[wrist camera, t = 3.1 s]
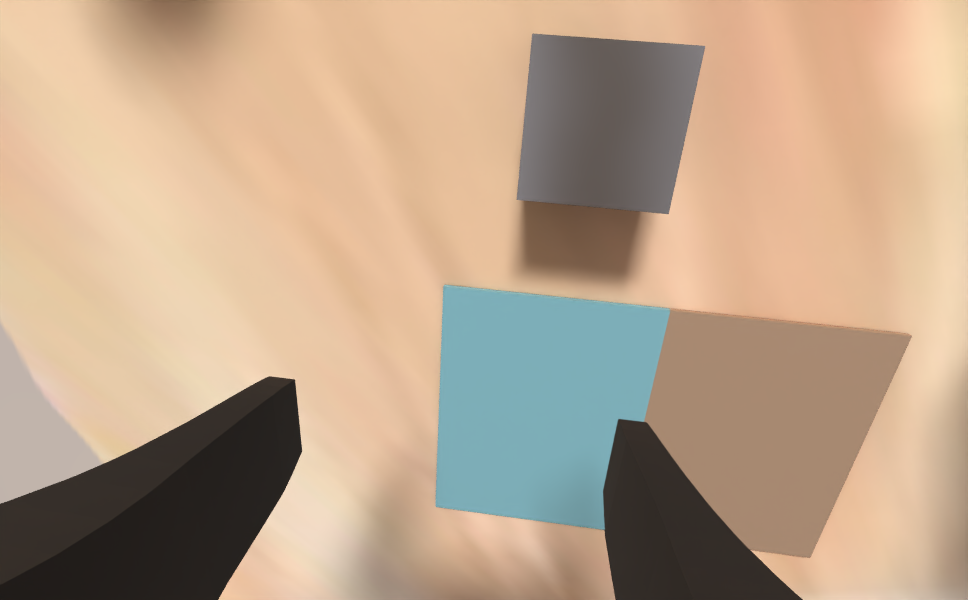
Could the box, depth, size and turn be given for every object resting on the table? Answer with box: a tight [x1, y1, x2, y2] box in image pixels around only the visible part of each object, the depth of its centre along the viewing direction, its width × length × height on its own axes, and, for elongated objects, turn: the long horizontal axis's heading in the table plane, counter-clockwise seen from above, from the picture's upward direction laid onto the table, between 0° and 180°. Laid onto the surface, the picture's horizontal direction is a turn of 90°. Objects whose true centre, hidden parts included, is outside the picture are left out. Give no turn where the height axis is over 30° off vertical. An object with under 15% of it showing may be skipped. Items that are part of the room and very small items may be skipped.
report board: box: [436, 285, 912, 558], centre depth 24 cm, size 18×12×1 cm, turn 86°
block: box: [517, 34, 705, 214], centre depth 17 cm, size 4×4×4 cm
